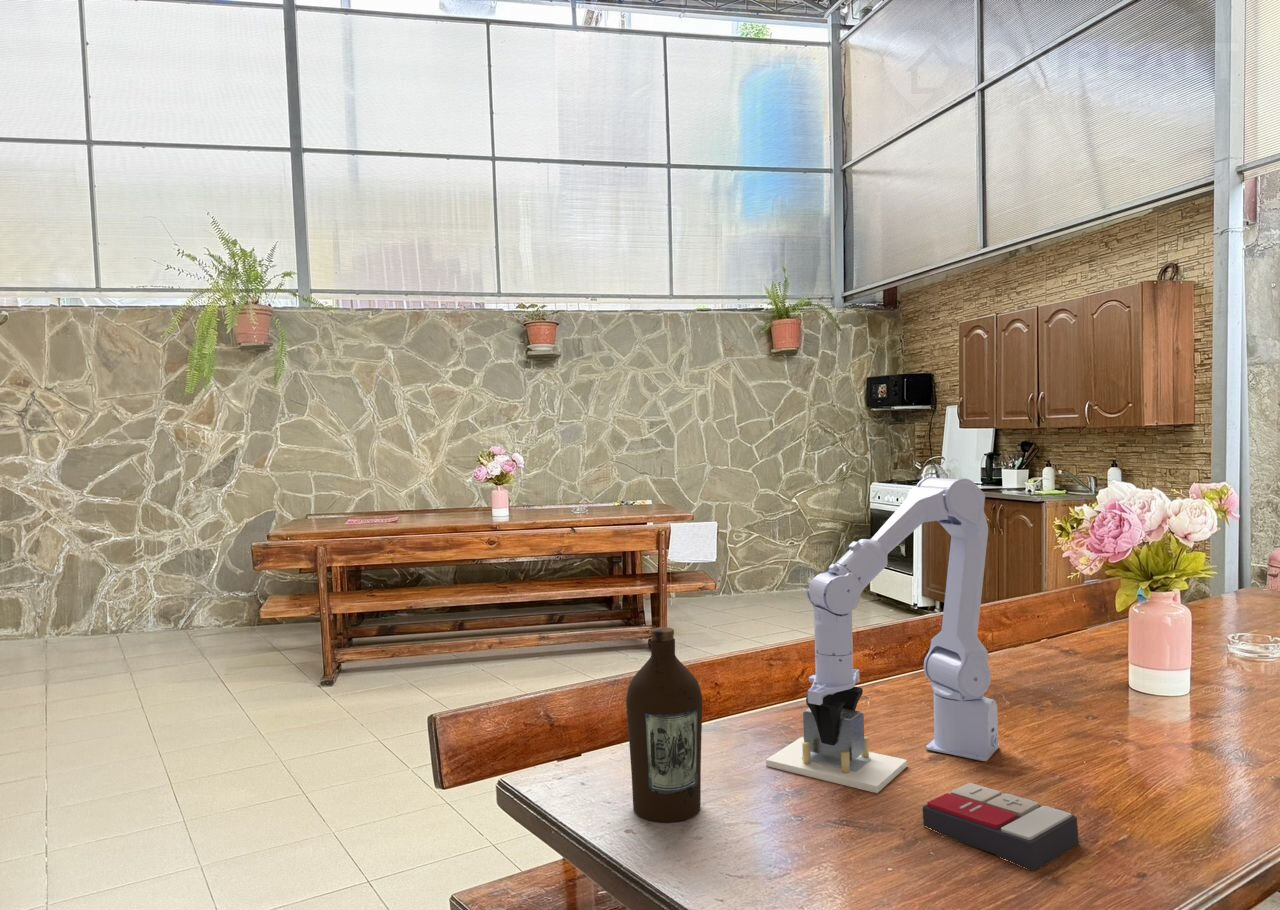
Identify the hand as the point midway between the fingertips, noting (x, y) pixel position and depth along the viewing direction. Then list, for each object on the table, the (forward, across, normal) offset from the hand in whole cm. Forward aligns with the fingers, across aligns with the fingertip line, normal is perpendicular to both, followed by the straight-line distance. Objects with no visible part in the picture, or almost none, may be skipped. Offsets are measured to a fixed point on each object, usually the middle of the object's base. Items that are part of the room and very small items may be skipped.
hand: (835, 738), depth 130 cm
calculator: (+5, +9, +26) cm, 28 cm away
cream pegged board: (+4, 0, 0) cm, 4 cm away
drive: (+2, 0, 0) cm, 2 cm away
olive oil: (+4, +27, -13) cm, 30 cm away
